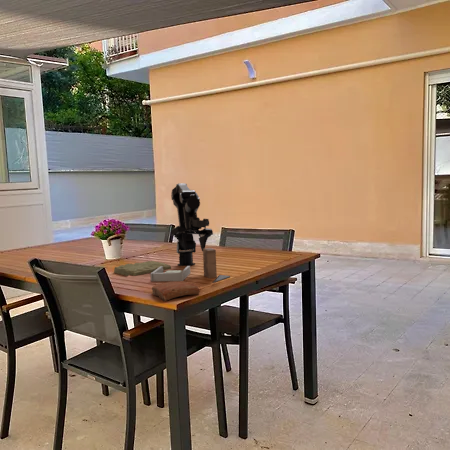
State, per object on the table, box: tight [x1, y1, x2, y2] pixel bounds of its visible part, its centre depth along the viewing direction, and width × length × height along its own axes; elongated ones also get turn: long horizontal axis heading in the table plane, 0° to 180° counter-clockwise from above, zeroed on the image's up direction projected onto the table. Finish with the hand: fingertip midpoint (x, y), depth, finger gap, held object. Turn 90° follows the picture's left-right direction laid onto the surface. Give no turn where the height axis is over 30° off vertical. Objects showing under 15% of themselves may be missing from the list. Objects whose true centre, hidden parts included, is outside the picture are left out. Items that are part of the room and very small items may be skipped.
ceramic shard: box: [151, 281, 201, 302], centre depth 162 cm, size 15×6×15 cm
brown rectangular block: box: [202, 247, 218, 279], centre depth 185 cm, size 6×4×12 cm, turn 22°
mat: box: [211, 274, 231, 284], centre depth 186 cm, size 12×12×1 cm
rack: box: [149, 265, 191, 282], centre depth 187 cm, size 15×13×4 cm
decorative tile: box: [113, 260, 172, 277], centre depth 206 cm, size 19×20×4 cm
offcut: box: [164, 269, 183, 273], centre depth 191 cm, size 5×6×2 cm
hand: (194, 250), depth 193 cm, fingers open, 9 cm apart
